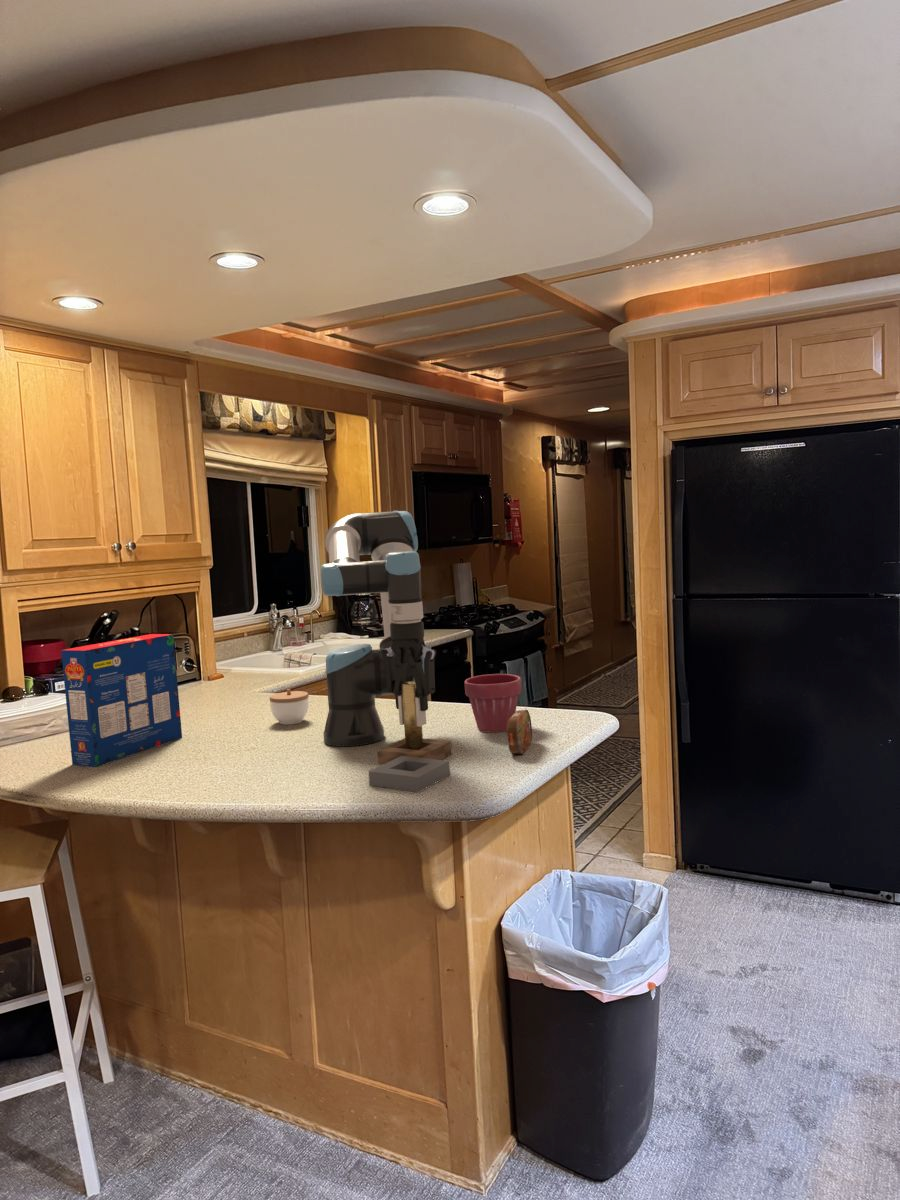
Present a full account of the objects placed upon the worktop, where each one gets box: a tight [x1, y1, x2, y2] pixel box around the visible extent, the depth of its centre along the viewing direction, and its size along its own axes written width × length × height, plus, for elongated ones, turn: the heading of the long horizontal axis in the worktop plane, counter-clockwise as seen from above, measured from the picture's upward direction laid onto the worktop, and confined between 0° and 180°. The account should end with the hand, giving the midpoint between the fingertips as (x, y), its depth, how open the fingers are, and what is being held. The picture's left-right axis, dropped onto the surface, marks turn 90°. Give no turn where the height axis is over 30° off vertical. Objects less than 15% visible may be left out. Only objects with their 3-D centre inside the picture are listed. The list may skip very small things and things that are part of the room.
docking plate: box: [368, 756, 451, 793], centre depth 170 cm, size 12×12×3 cm
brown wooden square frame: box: [376, 737, 453, 765], centre depth 187 cm, size 12×12×3 cm
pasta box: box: [60, 633, 183, 768], centre depth 209 cm, size 28×8×28 cm, turn 154°
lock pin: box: [402, 681, 424, 747], centre depth 186 cm, size 4×4×14 cm
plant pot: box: [464, 673, 522, 733], centre depth 210 cm, size 14×14×13 cm
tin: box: [506, 709, 533, 755], centre depth 189 cm, size 15×3×8 cm, turn 163°
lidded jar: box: [269, 688, 310, 726], centre depth 232 cm, size 11×11×9 cm
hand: (413, 723), depth 186 cm, fingers closed on lock pin, 4 cm apart
